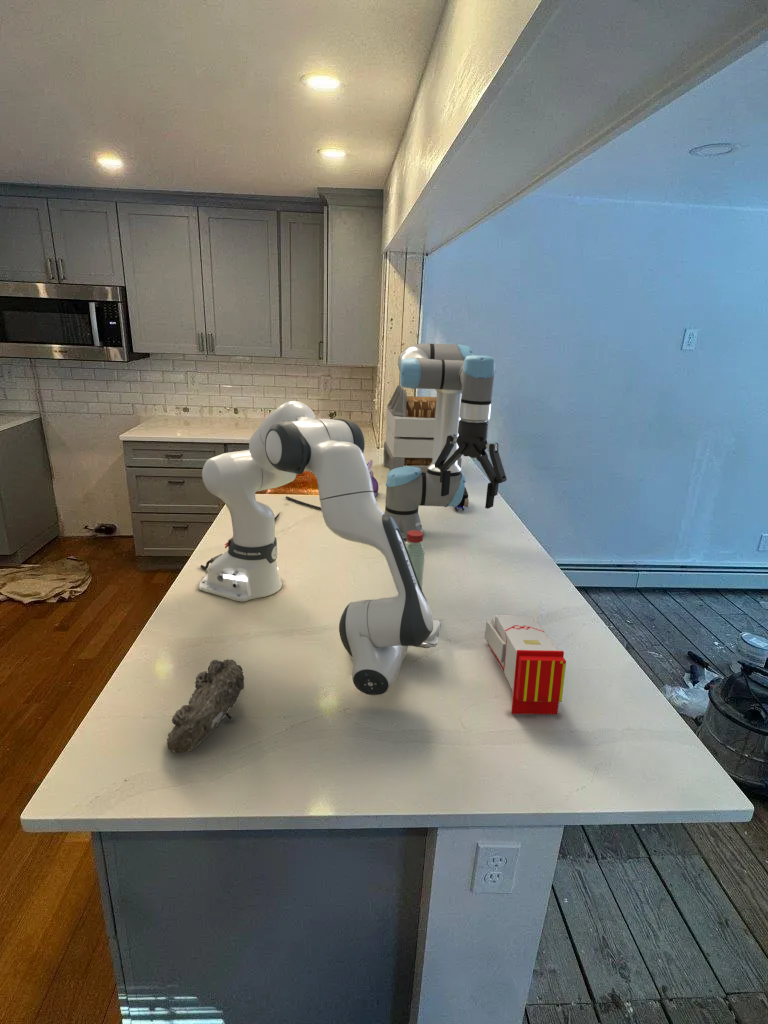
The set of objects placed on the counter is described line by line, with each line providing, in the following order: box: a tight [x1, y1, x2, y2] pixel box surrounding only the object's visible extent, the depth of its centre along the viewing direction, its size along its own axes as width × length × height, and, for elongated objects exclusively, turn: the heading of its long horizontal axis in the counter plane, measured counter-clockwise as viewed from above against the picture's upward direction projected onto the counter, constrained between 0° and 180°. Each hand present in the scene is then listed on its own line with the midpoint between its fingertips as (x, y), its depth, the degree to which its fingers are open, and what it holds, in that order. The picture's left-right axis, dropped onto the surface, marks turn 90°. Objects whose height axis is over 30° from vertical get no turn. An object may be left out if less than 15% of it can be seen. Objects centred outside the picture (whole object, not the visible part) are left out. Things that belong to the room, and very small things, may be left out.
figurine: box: [367, 459, 380, 497], centre depth 237 cm, size 9×10×15 cm
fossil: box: [166, 658, 245, 754], centre depth 106 cm, size 22×10×15 cm
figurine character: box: [452, 486, 470, 512], centre depth 229 cm, size 7×8×15 cm
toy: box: [484, 614, 567, 716], centre depth 124 cm, size 12×13×30 cm
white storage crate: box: [383, 384, 463, 472], centre depth 268 cm, size 34×33×41 cm
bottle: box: [405, 541, 426, 590], centre depth 146 cm, size 5×5×22 cm
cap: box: [406, 530, 424, 543], centre depth 142 cm, size 4×4×2 cm
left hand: (401, 610), depth 136 cm, fingers open, 8 cm apart
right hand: (466, 501), depth 148 cm, fingers open, 13 cm apart
